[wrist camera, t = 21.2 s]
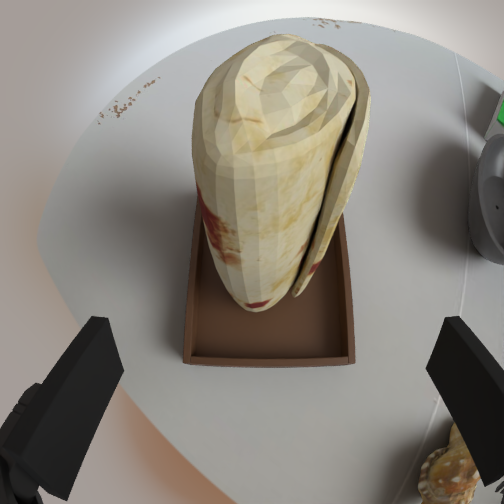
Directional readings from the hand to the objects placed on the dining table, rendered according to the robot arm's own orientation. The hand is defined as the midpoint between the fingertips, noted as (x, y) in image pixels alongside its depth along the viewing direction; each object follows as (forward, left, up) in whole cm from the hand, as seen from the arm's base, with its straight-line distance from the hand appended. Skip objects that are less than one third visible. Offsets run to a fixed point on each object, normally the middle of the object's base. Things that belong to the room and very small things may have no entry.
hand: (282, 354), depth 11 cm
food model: (0, +8, -14) cm, 16 cm away
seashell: (+17, -13, -15) cm, 26 cm away
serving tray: (0, +8, -15) cm, 17 cm away
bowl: (+29, +16, -15) cm, 36 cm away
